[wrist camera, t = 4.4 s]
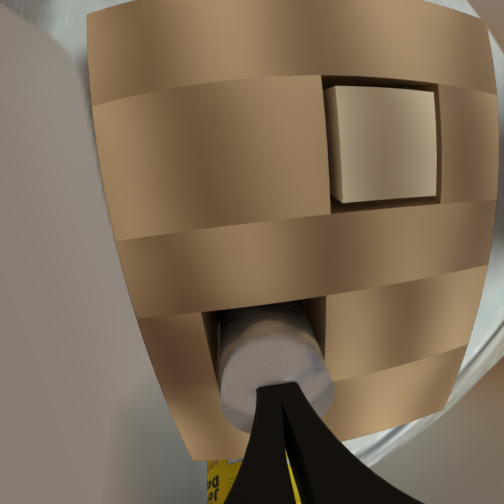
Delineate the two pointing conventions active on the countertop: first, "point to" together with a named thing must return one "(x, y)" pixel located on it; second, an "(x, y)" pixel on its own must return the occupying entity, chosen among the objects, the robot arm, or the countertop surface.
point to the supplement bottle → (230, 479)
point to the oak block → (292, 195)
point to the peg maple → (380, 143)
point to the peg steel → (269, 359)
